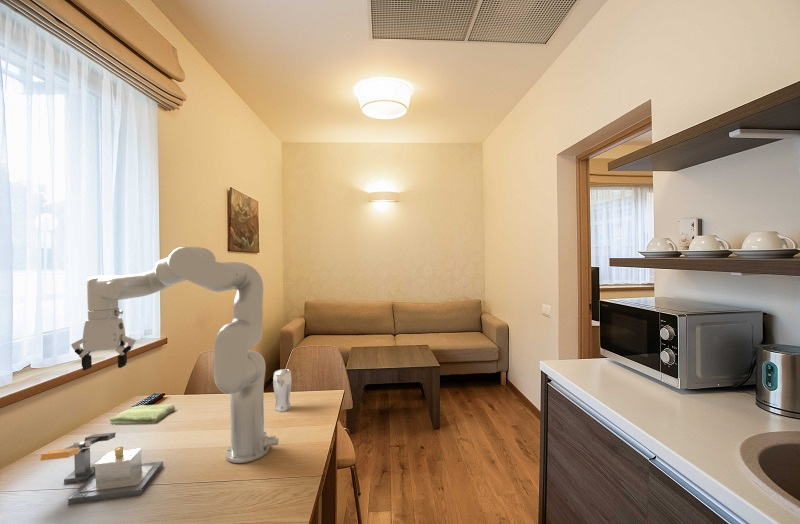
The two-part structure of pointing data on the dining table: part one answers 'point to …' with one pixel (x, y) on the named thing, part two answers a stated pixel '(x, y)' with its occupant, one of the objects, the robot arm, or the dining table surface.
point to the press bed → (93, 493)
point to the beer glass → (282, 389)
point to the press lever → (76, 447)
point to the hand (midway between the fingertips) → (104, 367)
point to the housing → (118, 467)
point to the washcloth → (143, 414)
